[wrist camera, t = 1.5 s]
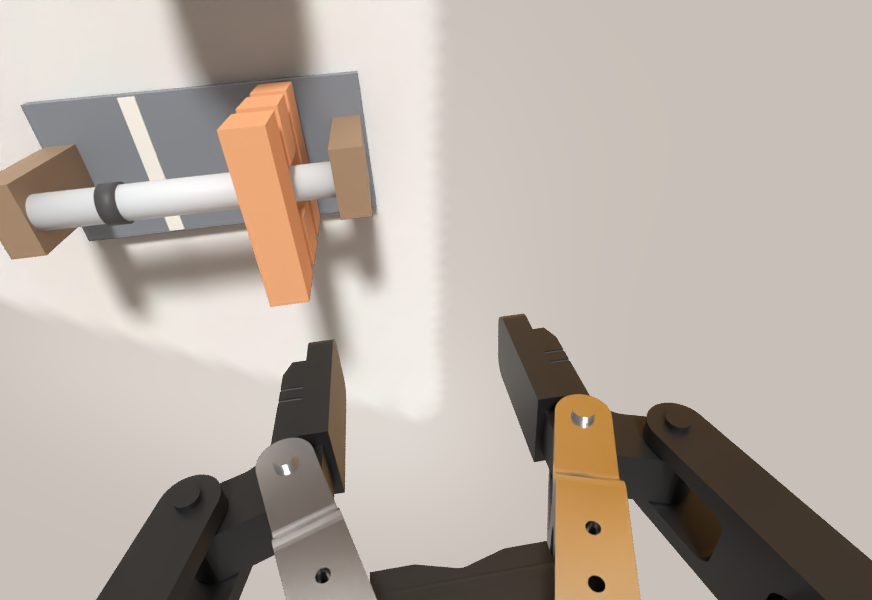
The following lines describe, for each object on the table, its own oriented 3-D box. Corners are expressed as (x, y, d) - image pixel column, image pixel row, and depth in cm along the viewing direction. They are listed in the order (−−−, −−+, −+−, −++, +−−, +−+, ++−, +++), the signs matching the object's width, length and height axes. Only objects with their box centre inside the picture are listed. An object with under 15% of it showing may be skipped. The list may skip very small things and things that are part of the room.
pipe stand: (94, 236, 35) (31, 298, 28) (27, 102, 30) (-68, 138, 23) (375, 203, 37) (381, 254, 30) (357, 71, 32) (358, 96, 25)
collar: (291, 221, 35) (270, 306, 26) (258, 84, 30) (216, 130, 21) (320, 217, 35) (309, 301, 26) (291, 81, 30) (265, 125, 21)
